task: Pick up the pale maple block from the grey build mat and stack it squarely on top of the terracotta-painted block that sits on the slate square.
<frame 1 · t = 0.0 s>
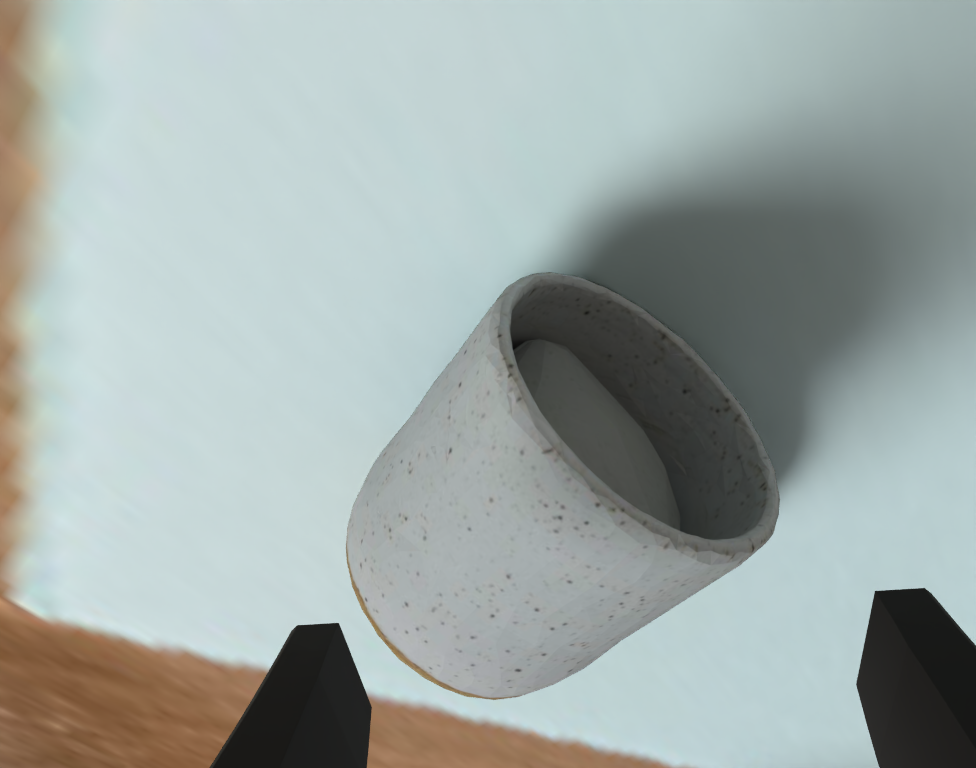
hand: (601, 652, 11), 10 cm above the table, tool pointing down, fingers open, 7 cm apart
ceramic mug: (585, 413, 22), on the table
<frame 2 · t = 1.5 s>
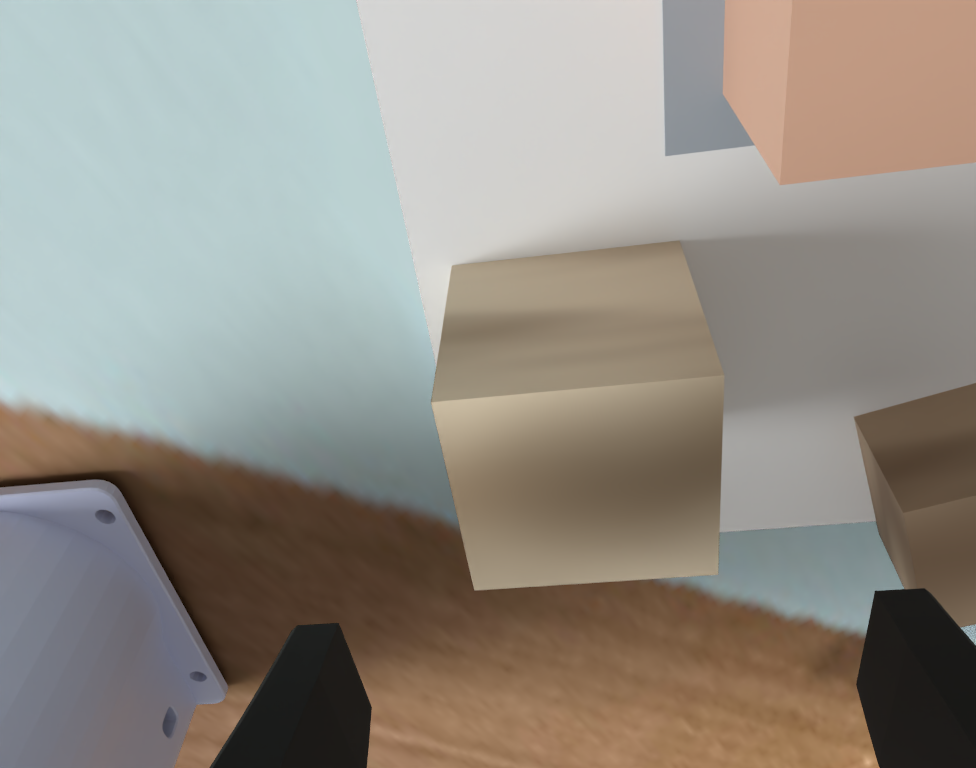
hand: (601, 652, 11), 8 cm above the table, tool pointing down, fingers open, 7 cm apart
build mat: (764, 177, 16), on the table
maple block: (573, 347, 18), point 1 cm above the table, touching build mat
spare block: (957, 455, 19), point 1 cm above the table, touching build mat
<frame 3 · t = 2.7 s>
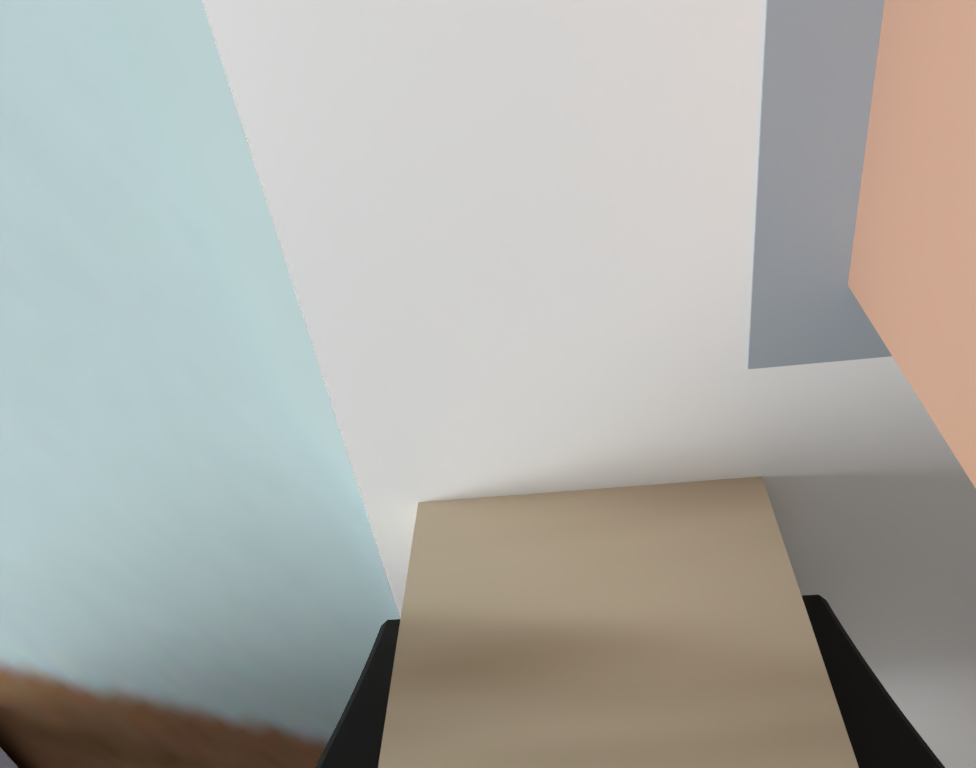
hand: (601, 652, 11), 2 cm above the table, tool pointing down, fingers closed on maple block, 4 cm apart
build mat: (890, 380, 11), on the table
maple block: (596, 600, 12), point 1 cm above the table, touching build mat, gripper
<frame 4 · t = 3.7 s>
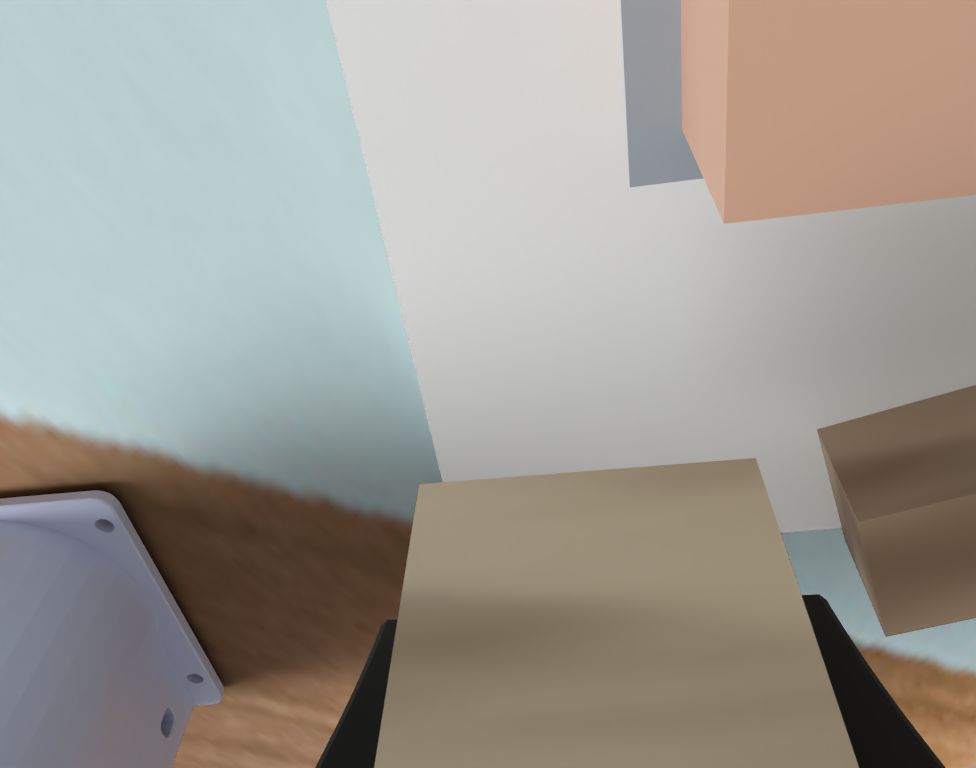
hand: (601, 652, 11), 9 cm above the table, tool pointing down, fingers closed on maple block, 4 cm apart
build mat: (725, 204, 17), on the table
maple block: (594, 582, 12), point 8 cm above the table, touching gripper
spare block: (916, 465, 20), point 1 cm above the table, touching build mat
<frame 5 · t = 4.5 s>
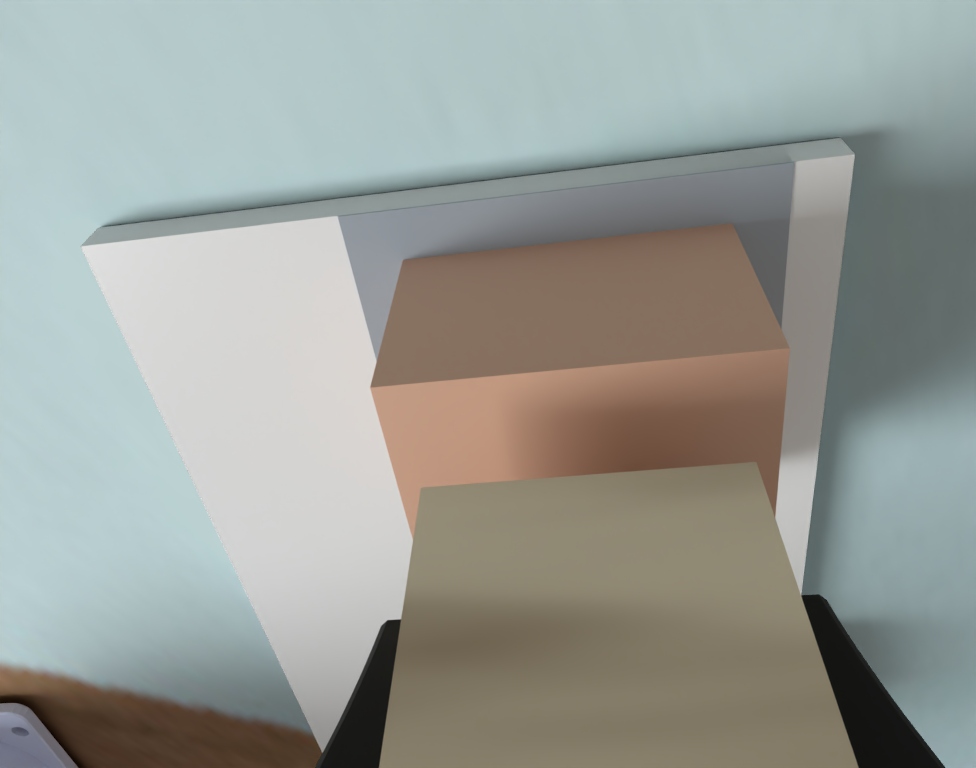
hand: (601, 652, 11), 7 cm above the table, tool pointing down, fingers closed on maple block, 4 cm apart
build mat: (510, 524, 21), on the table
maple block: (595, 585, 12), point 6 cm above the table, touching gripper
terracotta block: (576, 374, 17), point 1 cm above the table, touching build mat
when the fingers open (7 cm above the table, at t = 5.1 s): maple block stays where it is, resting on terracotta block.
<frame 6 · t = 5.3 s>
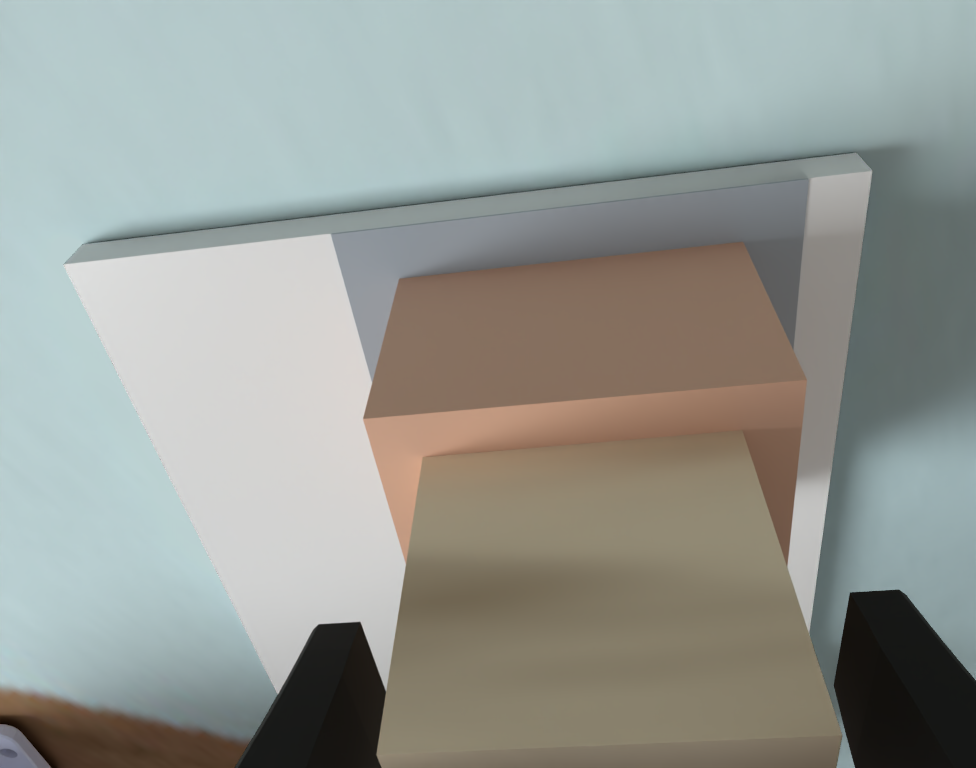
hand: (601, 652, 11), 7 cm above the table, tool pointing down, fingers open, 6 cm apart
build mat: (511, 546, 20), on the table
maple block: (590, 552, 13), point 5 cm above the table, touching terracotta block
terracotta block: (580, 396, 16), point 1 cm above the table, touching build mat, maple block
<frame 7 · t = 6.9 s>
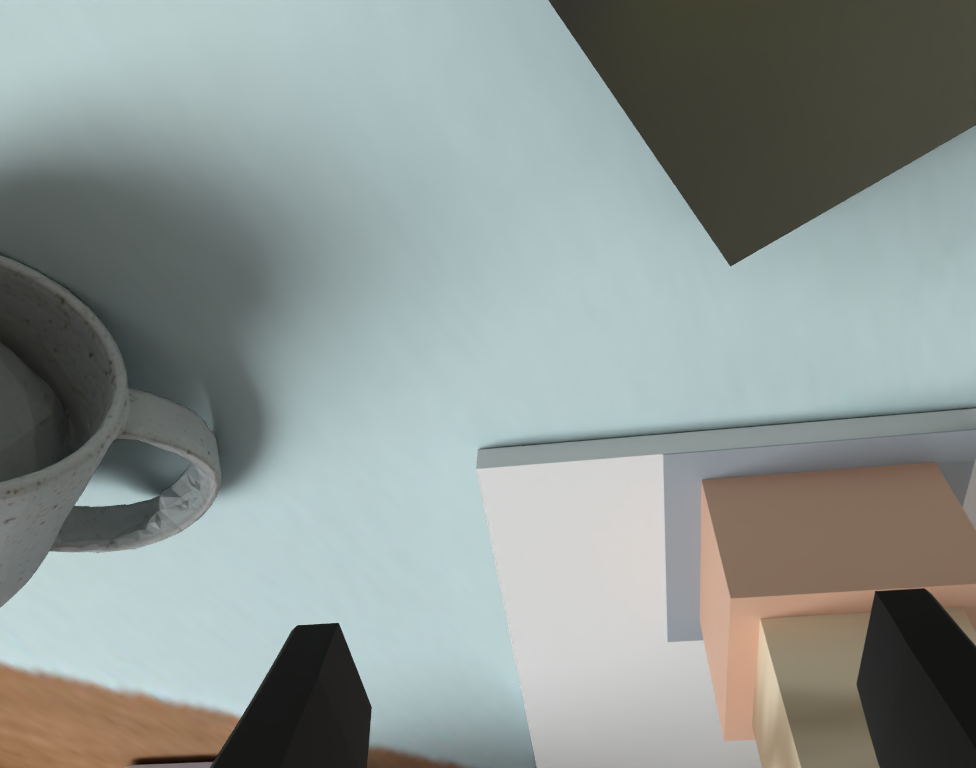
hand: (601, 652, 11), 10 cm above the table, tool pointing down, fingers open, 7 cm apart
build mat: (725, 636, 27), on the table
ceramic mug: (50, 379, 23), on the table
maple block: (848, 670, 20), point 5 cm above the table, touching terracotta block
terracotta block: (806, 548, 24), point 1 cm above the table, touching build mat, maple block
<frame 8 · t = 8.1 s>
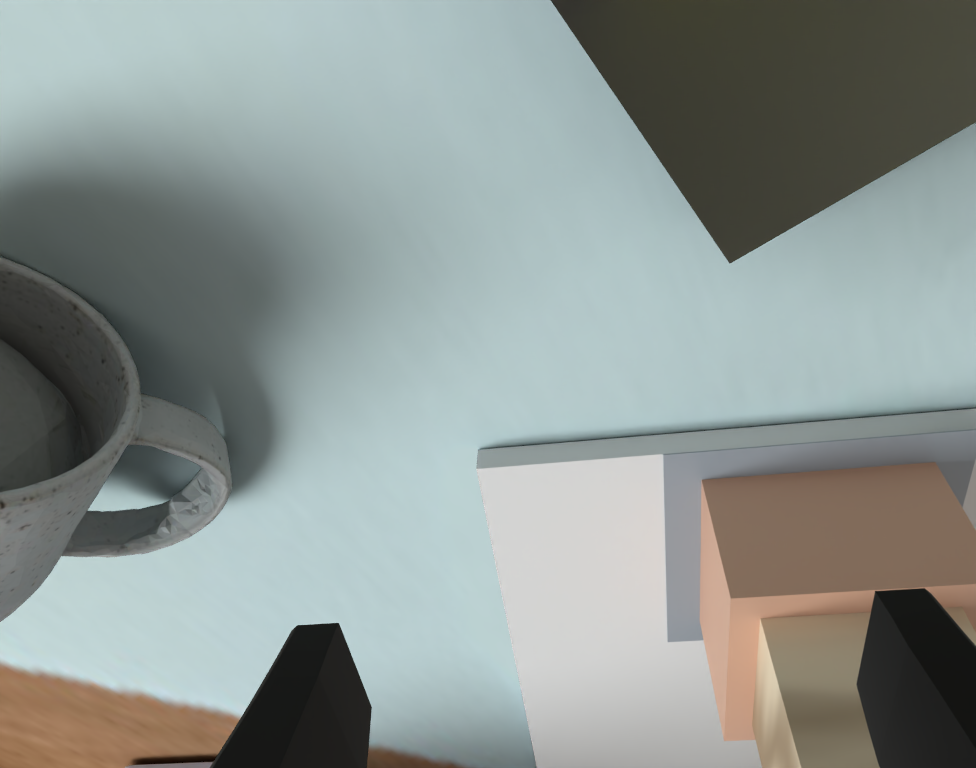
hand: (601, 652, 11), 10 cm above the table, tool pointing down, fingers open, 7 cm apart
build mat: (725, 636, 27), on the table
ceramic mug: (61, 385, 23), on the table
maple block: (848, 670, 20), point 5 cm above the table, touching terracotta block
terracotta block: (807, 548, 24), point 1 cm above the table, touching build mat, maple block
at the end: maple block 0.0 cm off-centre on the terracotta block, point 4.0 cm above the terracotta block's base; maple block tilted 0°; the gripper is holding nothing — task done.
